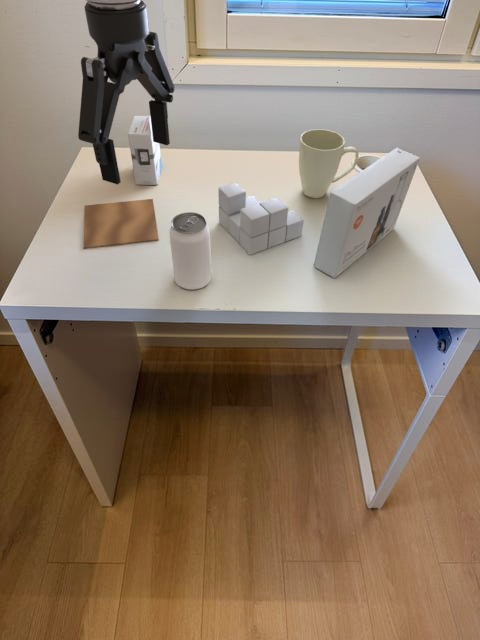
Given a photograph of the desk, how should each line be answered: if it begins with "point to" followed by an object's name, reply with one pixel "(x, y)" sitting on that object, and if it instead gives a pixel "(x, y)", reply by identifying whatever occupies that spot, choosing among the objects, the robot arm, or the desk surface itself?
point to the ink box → (144, 151)
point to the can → (190, 250)
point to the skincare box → (364, 211)
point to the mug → (321, 160)
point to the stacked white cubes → (256, 219)
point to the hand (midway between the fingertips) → (138, 161)
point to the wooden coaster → (119, 223)
